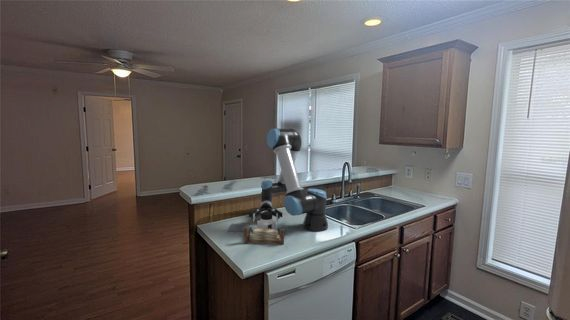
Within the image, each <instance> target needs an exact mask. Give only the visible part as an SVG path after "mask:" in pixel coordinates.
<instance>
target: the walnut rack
mask: <svg viewBox="0 0 570 320" xmlns="http://www.w3.org/2000/svg"><path fill="white" fill-rule="evenodd" d="M250 232H253V227H252V226H249V228H248V227H245V228H244V232H243V244H276V245H277V244H279V245H281V246H283V245H284V244H285V228H284V227H282V228H280V236H279V241H271V240H249V237H250Z"/></svg>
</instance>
